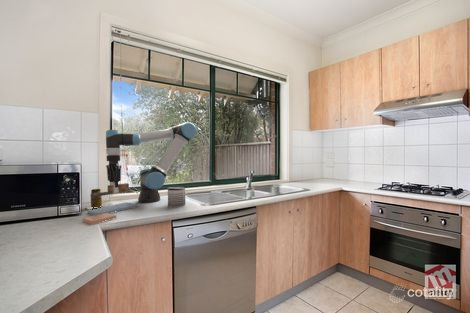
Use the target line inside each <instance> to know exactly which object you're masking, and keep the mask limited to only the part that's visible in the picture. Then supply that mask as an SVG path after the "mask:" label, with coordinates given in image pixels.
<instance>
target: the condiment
mask: <svg viewBox="0 0 470 313" xmlns="http://www.w3.org/2000/svg"><path fill="white" fill-rule="evenodd" d="M90 191H91V192H90V207H93V208H94V207H100V206H103V204H102V202H103V200H102V196H96V197H95V196H91V194H94V193H101V189H100V188H94V189H91V190H90Z"/></svg>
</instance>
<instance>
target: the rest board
mask: <svg viewBox="0 0 470 313" xmlns="http://www.w3.org/2000/svg"><path fill="white" fill-rule="evenodd" d="M134 207H135V208H138V204H136V203H131V202H122V203H118V204H113V205H108V206H105V207H101V208H97V209H93V210H92V209H87V214H89V213H90V214H89V215H93V214H94V215H93V216H95V215H99V214H104V213H110V214H112V213H111V212H114V213H116V212H115V211H118V212H120V211H119V210H122V211H125V210H124V209H127V210H130V209H129V208H131V209H134Z"/></svg>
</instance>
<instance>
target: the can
mask: <svg viewBox="0 0 470 313" xmlns="http://www.w3.org/2000/svg"><path fill="white" fill-rule="evenodd" d="M167 204H168V205H167V206H168V207H169V208H181V207H184V206H186V188H185V187H181V186H180V187H179V186H176V187H175V186H172V187H170V186H169V187H168V188H167Z"/></svg>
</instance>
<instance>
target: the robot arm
mask: <svg viewBox="0 0 470 313" xmlns="http://www.w3.org/2000/svg"><path fill="white" fill-rule="evenodd" d="M197 132H198V130H197V127H196V125H195V124H194V123H192V122H184V123H180V124H177V125H175V126H171V127H168V128H167V129H160V130H153V131H152V130H151V131H147V132H139V133H121V132H120V130H118V129H107V130H106V131H105V148H106V149H105V151H106V162H108V164H107V165H106V166H105V167H106V174H107V181H108V182H109V185H113V191H114V193H113V194H118V193H117V192H118V184H119V182H121V177H122V176H121V175H122V164H120V163H119V162H120V161H121V155H120V154H121V146H123V147H124V146H125V147H131V146H139V145H143V144H147V143H153V142H155V143H156V142H158V141H159V142H160V141H164V140H165V141H166V140H171V141H172V142H170V144H169V145H168V146H167V149H166V150H165V152H164V153H162V156H161V157H160V159H159V160H158V161H157V163H156V164H155V165H153V166H151V167H150V168H145V169H141V170H140V171H139V180H140V181H139V182H140V191H139V195H138V198H137V201H138V203H140V204H142V203H144V204H145V203H146V204H147V203H149V204H150V203H155V202H159V201H161V195H160V192H159V189H160V188H162V187H163V186H164V184H165V183H166V182H165V179H166V178H167V176H168V171H169V169H170V168H171V166H172V165H173V163H174V162H175V160H176V158H177V157H178V156H179V154H180V152H181V151H182V149H183V148H184V147H185V145H188V144H189V142H190V141H191V140H192V139H193V138H195V137H196V135H197Z"/></svg>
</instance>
